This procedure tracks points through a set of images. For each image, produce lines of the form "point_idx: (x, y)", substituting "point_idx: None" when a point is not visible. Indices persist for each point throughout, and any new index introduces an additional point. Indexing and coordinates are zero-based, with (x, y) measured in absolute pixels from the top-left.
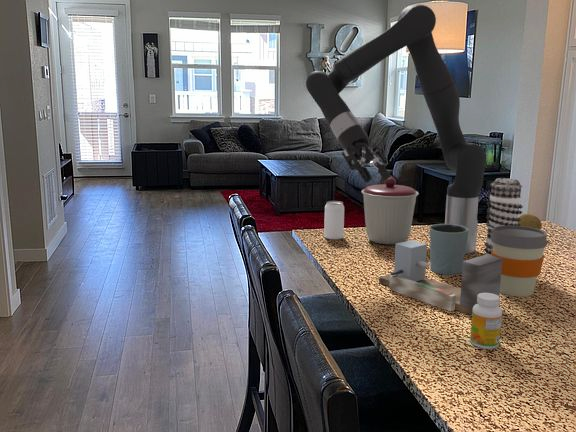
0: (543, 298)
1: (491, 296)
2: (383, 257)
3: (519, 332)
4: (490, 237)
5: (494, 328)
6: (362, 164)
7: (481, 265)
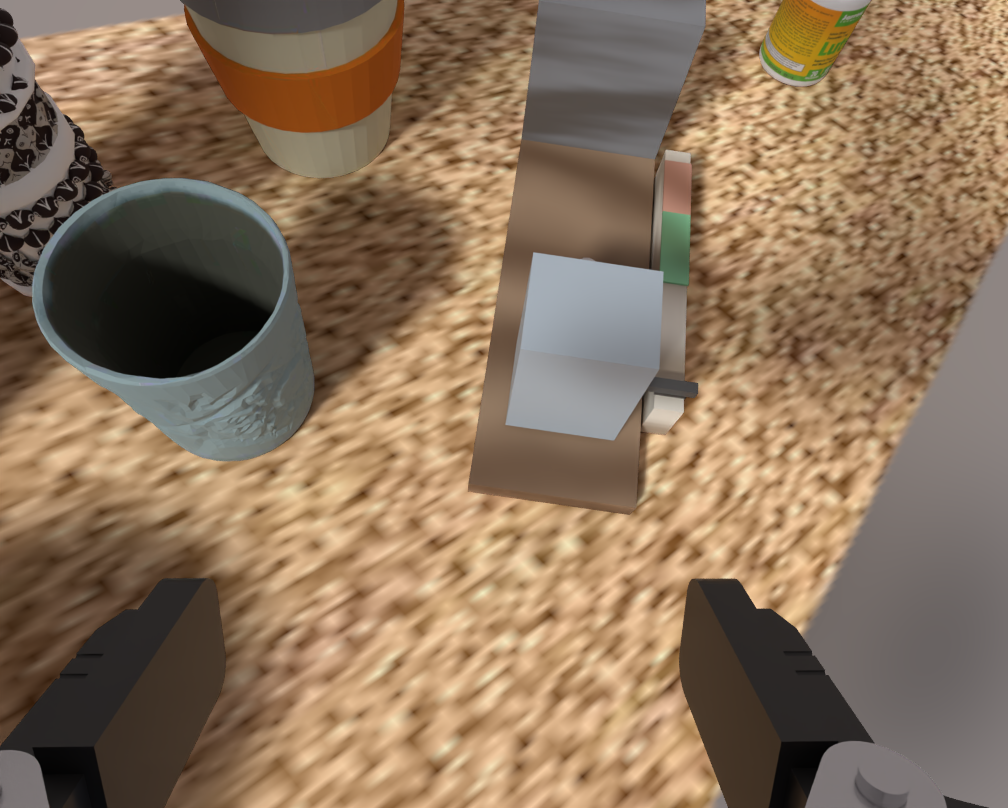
0: None
1: None
2: (224, 772)
3: None
4: (28, 161)
5: None
6: (911, 779)
7: None
